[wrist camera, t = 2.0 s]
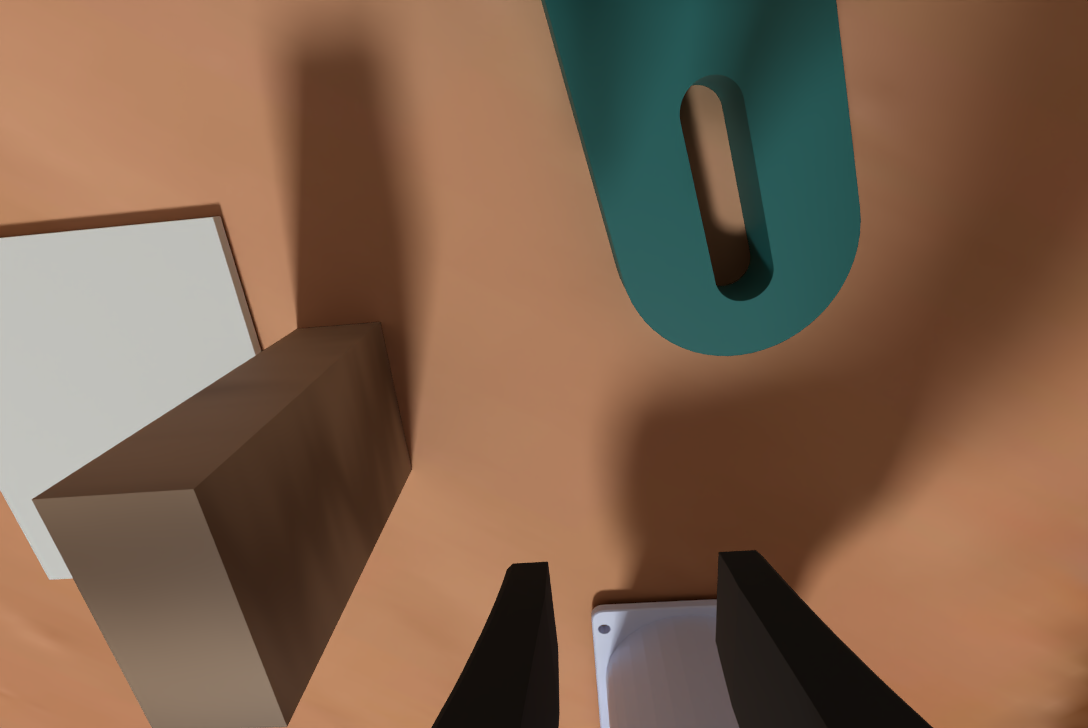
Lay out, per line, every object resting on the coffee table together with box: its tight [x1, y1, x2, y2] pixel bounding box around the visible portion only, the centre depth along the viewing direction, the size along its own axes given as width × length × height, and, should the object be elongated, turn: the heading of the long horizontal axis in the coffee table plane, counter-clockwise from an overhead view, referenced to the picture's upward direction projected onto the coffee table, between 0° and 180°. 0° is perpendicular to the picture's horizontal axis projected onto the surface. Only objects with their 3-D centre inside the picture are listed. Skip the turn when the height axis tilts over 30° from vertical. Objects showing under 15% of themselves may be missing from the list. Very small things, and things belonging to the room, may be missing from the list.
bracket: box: [541, 0, 861, 356], centre depth 12 cm, size 18×7×8 cm, turn 18°
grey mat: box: [0, 216, 261, 580], centre depth 20 cm, size 14×12×1 cm
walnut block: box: [31, 322, 412, 728], centre depth 15 cm, size 6×3×10 cm, turn 5°
